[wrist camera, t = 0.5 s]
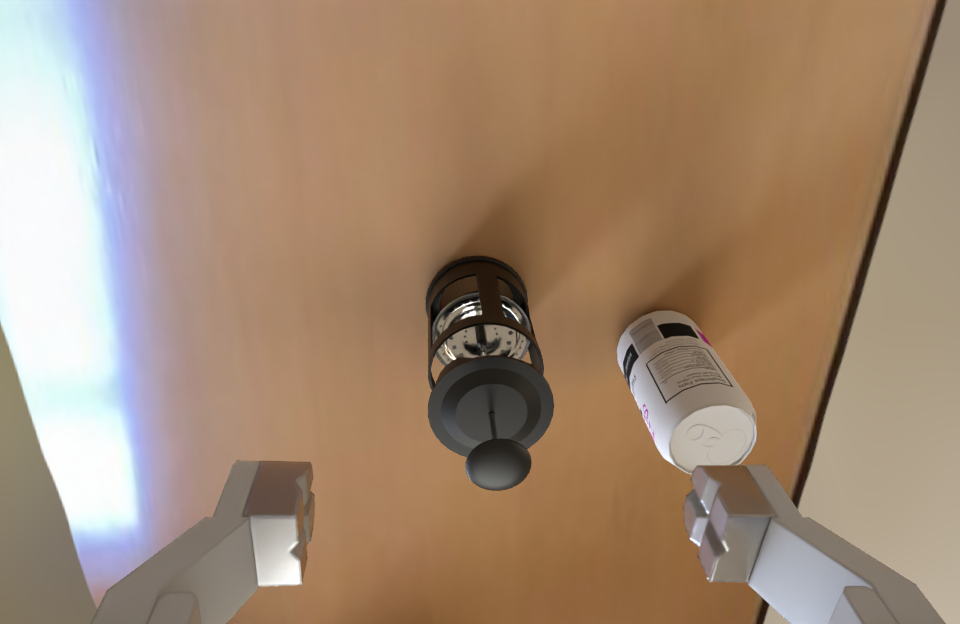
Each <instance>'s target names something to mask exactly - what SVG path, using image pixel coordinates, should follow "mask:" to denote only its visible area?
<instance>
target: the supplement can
mask: <svg viewBox="0 0 960 624" xmlns="http://www.w3.org/2000/svg"><path fill="white" fill-rule="evenodd" d="M617 357H618V363H619V365H620V368H621V370H622V372H623V374H624V376H625V379H626V381H627V383H628V385H629V387H630V390H631V392H632V394H633V396H634V398H635V401H636V403H637V405H638V407H639V409H640V412H641V414H642V416H643V418H644V420H645V423H646V425H647V427H648V429H649V431H650V434H651V436H652V438H653V440H654V442H655V445H656V447H657V448H658V450H659V452H660V453H661V455H662V456H663V458H664V459H666V460H667V461H669V462H670V463H672V464H673V465H675V466H676V467H678V468H679V469H681V470H682V471H684V472H685V473H688V474H692V473H693V470H694V469H695V467H696V466H697V465H738V464H740V463H741V462H742V461H743V460H744V459H745V458H746V457H747V456H748V455H749V453H750V452H751V451H752V449H753V446H754V444H755V442H756V412H755V410H754V408H753V406H752V404H751V402H750V400H749V399H748V397H747V396H746V394H745V393H744V391H743V390H742V389H741V387H740V386H739V384H738V383H737V382H736V380H735V379H734V377H733V376H732V374H731V373H730V372H729V370H728V369H727V367H726V366H725V365H724V363H723V362H722V360H721V359H720V358H719V356H718V355H717V353H716V352H715V350H714V349H713V348H712V346H711V345H710V343H709V342H708V341H707V339H706V338H705V336H704V335H703V333H702V332H701V331H700V329H699V328H698V326H697V325H696V324H695V322H694V321H692V320H691V319H690V318H688V317H687V316H686V315H685V314H682V313H678V312H675V311H671V310H669V311H655V312H652V313H649V314H647V315H644V316H641V317H640V318H638V319H637V320H636V321H634V322H633V323H632V324H630V325H629V326H628V327H627V329H626V330H625V332H624V333H623V334H622V336H621V337H620V340H619V344H618V347H617Z"/></svg>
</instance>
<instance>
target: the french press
mask: <svg viewBox="0 0 960 624" xmlns="http://www.w3.org/2000/svg"><path fill="white" fill-rule="evenodd" d="M470 276H476V278H477V285H478V291H475V292H471V293H467V294H464V295H462V296H460V297H458V298H456V299H454V300H453V301H451V302H450V303H449V304H448V305H447V306H445V307H444V308H443V310H442V311H440V299H441V296H442V293H443V291H444V289H445V288H446V287H448V286H449V285H450V284H452V283H454V282H455V281H457V280H460V279H463V278H465V277H470ZM497 278H498V279H501V280H503V281H504V282H505V283H506V284H507V285H508V286H509V288H510V289H511V291H512V294H513V298H514V302H513V301H512V300H510V299H509V298H507V297H506V296H503V295H501V294H500V291H499V286H498V282H497ZM527 303H528V298H527V291H526V288H525V286H524V283H523V281H522V279H521V278H520V276H519V275H518V274H517V273H516V272H515V271H514V270H513V269H512V268H511V267H510V266H508V265H507V264H505V263H504V262H502V261H499V260H497V259H494V258H490V257H485V256H472V257H466V258H462V259H459V260H456V261H454V262H452V263H450V264H449V265H447V266H445V267H444V268H443V269H442V270H441V271H440V272H439V273H438V274H437V275H436V276H435V278H434V279H433V280H432V282H431V284H430V286H429V288H428V292H427V296H426V311H427V316H428V379H429V384H430V388H431V390H432V392H431V395H430V399H429V403H428V418H429V422H430V426H431V428H432V430H433V432H434V434H435V436H436V437H437V438H438V439H439V440H440V442H441V443H442V444H444V445H445V446H446V447H447V448H449V449H450V450H452V451H453V452H455V453H457V454H459V455H462V456H465V457H467V460H466V466H465V468H466V473H467V475H468V477H469V478H470V479H471V481H472V482H473V483H474V484H476V485H477V486H479V487H481V488H484V489H487V490H493V491H500V490H506V489H509V488H512V487H514V486H516V485H518V484H519V483H521V482H522V481H523V480H524V479H525V478H526V477H527V475H528V473H529V471H530V468H531V457H530V454H529V452H528V451H527V449H528V448H529V447H531V446H532V445H533V444H535V443H536V442H537V441H538V440H539V439H540V438H541V437H542V436H543V435H544V433H545V432H546V430H547V428H548V427H549V425H550V422H551V419H552V417H553V410H554V402H553V395H552V392H551V389H550V387H549V384H548V382H547V381H546V379H545V378H544V377H543V372H544V366H543V358H542V355H541V351H540V348H539V346H538V343H537V341H536V338H535V334H534V330H533V327H532V323H531V319H530V316H529V309H528V304H527ZM527 350H529V354H530V358H531V362H532V365H531V364H529V363H526V362H524V361H522V360H521V359H522V358H523V357H524V355H525V353H526V352H527ZM435 354H436V356H437V358H438V359H439V360H440V362H441V363H442V364H443V365H444V366H445V368H444V369H443V370H442V371H441V373H440V375H439V377H438V379H437V381H436V384H435V382H434V380H433V377H432V373H431V365H432V361H433V358H434V356H435Z"/></svg>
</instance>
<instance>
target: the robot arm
mask: <svg viewBox="0 0 960 624" xmlns="http://www.w3.org/2000/svg"><path fill="white" fill-rule="evenodd" d="M312 480H313V471H312V464H311V462H288V461H240V460H237V461H236V462H235V463H234V464H233V466H232V468H231V471H230V474H229V476H228V479H227V481H226V484H225V487H224V489H223V492H222V494H221V497H220V500H219V502H218V505H217V507H216V510H215V513H214V515H213V517H205V518H204V519H202V520H201V521H200V522H198V523H197V524H196V525H194V526H193V527H192V528H190V529H189V530H188V531H186V532H185V533H184V534H182V535H181V536H179V537H178V538H177V539H175V540H174V541H173V542H171V543H170V544H169V545H167V546H166V547H165V548H163V549H162V550H161V551H159V552H158V553H157V554H155V555H154V556H153V557H151V558H150V559H149V560H147V561H146V562H145V563H143V564H142V565H141V566H139V567H138V568H136V569H135V570H134V571H132V572H131V573H130V574H128V575H127V576H126V577H124V578H123V579H122V580H120V581H119V582H118V583H116V584H115V585H114V586H112V587H111V588H110V589H108V590H107V592H106V594H105V596H104V597H103V599H102V601H101V603H100V605H99V607H98V609H97V611H96V613H95V615H94V617H93V619H92V621H91V623H90V624H227V622H228V621H229V620H230V619H231V618H232V617H233V616H234V615H235V614H236V613H237V611H238V610H239V609H240V608H241V607H242V606H243V605H244V604H245V603H246V602H247V600H248V599H249V598H250V597H251V596H252V595H253V594H254V593H255V592H256V591H257V589H258V586H284V585H302V582H303V577H304V572H305V567H306V562H307V544H308V543H309V542H310V541H311V537H312V532H313V524H314V510H315V502H314V494H313V493H312V492H311V491H310V490H311V485H312ZM691 482H692V484H693V486H694V489H693V490H692V491H691V492H690V493H689V494H687V495H686V499H685V503H684V507H683V511H684V524H685V528H686V531H687V534H688V536H689V539H690V540H691V541H692V542H694V543H695V544H696V545H697V546H699V547H700V549H699V552H698V556H697V557H698V559H699V561H700V563H701V566H702V568H703V570H704V572H705V574H706V577H707V579H708V581H709V582H749V583H748V585H749V586H750V587H751V588H752V589H754V590H755V591H756V592H757V593H758V594H759V595H760V596H761V597H762V598H763V599H764V600H766V601H767V602H768V603H769V604H770V605H771V606H772V607H773V608H774V609H775V610H776V611H778V612H779V613H780V614H781V615H782V616H783V617H784V618H785V619H786V620H787V621H789V623H791V624H946V623H945V622H944V621H943V620H942V618H941V617H940V616H939V615H938V613H937V612H936V610H935V609H934V608H933V606H932V605H931V604H930V603H929V601H928V600H927V599H926V598H925V596H924V595H923V593H922V592H921V591H920V590H919V588H918V587H917V586H916V584H914V583H913V582H911V581H910V580H908V579H906V578H905V577H903V576H901V575H900V574H898V573H897V572H895V571H894V570H892V569H890V568H889V567H887V566H886V565H884V564H882V563H881V562H879V561H878V560H876V559H875V558H873V557H871V556H870V555H868V554H866V553H865V552H863V551H862V550H860V549H859V548H857V547H855V546H854V545H852V544H851V543H849V542H847V541H846V540H844V539H843V538H841V537H839V536H838V535H836V534H835V533H833V532H831V531H830V530H828V529H827V528H825V527H823V526H822V525H820V524H819V523H817V522H816V521H814V520H812V519H811V518H804V517H802V516H801V514H800V513H799V511H798V510H797V508H796V507H795V505H794V504H793V502H792V501H791V499H790V498H789V496H788V495H787V493H786V492H785V490H784V489H783V487H782V486H781V484H780V483H779V481H778V480H777V478H776V477H775V475H774V474H773V472H772V471H771V469H770V468H769V467H768V466H766V465H764V464H763V465H741V466H740V465H697V466H696V467H695V469H694V470H693V473H692V476H691Z"/></svg>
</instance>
